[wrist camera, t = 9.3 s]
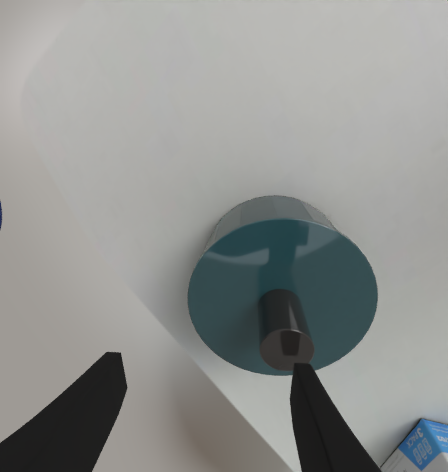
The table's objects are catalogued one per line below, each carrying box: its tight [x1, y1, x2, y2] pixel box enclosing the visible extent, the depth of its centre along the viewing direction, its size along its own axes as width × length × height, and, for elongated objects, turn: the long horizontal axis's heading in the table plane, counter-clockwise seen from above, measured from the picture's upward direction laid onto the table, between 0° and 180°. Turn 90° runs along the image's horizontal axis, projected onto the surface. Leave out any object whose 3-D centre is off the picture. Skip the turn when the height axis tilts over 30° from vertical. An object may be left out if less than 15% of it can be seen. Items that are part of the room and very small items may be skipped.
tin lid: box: [188, 215, 378, 376], centre depth 14 cm, size 10×10×4 cm
